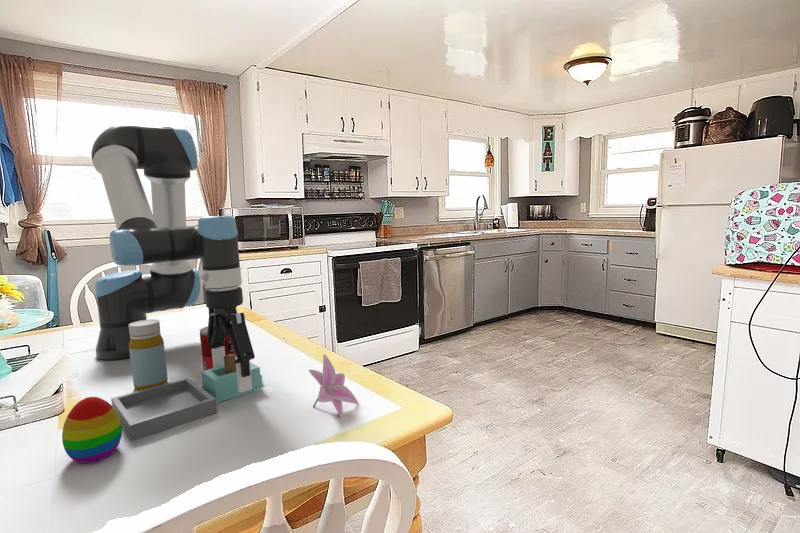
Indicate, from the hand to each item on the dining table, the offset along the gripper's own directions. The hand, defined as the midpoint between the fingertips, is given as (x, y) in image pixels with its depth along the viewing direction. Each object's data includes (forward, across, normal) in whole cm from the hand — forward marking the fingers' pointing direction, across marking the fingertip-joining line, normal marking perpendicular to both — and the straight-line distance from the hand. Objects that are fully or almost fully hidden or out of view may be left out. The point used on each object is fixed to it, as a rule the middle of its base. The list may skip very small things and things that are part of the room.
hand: (232, 382), depth 99 cm
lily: (+3, +24, +10) cm, 26 cm away
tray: (+2, 0, -14) cm, 14 cm away
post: (+2, 0, 0) cm, 2 cm away
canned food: (+2, -15, +3) cm, 16 cm away
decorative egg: (+2, +9, -27) cm, 28 cm away
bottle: (+2, -18, -12) cm, 22 cm away
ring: (+2, 0, 0) cm, 2 cm away
